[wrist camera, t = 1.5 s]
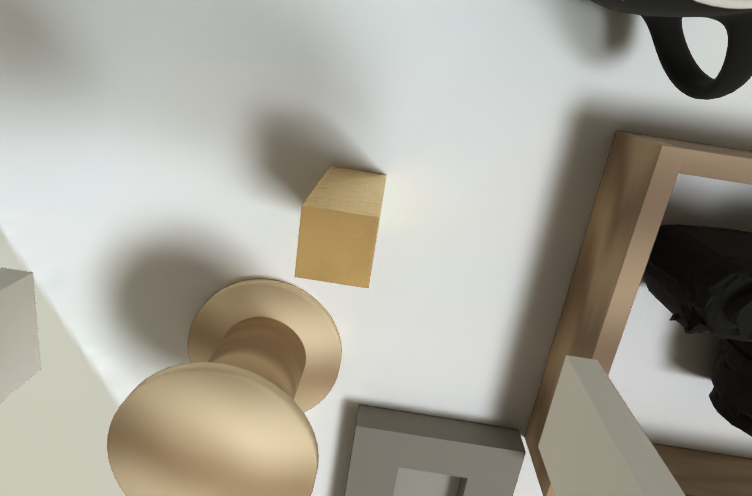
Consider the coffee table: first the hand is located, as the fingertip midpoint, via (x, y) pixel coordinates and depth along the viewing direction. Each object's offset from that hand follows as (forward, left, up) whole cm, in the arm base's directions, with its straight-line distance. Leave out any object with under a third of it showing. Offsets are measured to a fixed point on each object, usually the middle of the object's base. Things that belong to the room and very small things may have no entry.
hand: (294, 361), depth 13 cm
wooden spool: (+10, -4, -16) cm, 19 cm away
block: (0, 0, -16) cm, 16 cm away
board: (+20, +7, -16) cm, 26 cm away
